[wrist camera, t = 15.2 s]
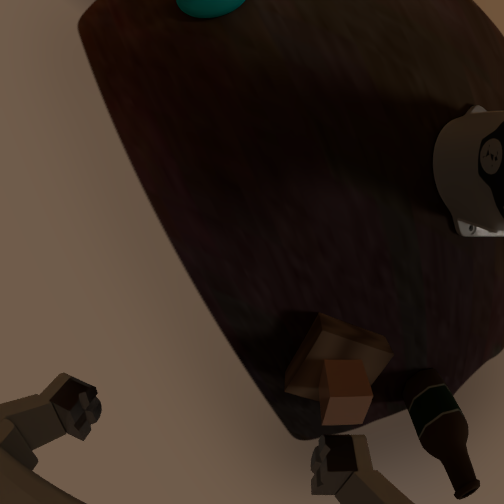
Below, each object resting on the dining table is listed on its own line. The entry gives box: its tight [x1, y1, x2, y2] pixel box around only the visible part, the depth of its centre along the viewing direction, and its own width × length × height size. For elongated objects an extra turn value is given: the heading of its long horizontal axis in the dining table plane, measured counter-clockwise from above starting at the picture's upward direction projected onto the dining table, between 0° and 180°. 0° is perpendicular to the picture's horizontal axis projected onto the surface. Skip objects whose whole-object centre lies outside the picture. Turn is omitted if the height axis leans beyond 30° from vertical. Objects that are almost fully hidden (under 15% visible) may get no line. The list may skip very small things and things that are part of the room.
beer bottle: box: [402, 369, 480, 499], centre depth 27 cm, size 8×8×24 cm
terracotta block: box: [318, 360, 373, 425], centre depth 31 cm, size 5×5×7 cm
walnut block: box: [284, 313, 394, 402], centre depth 37 cm, size 11×11×5 cm
